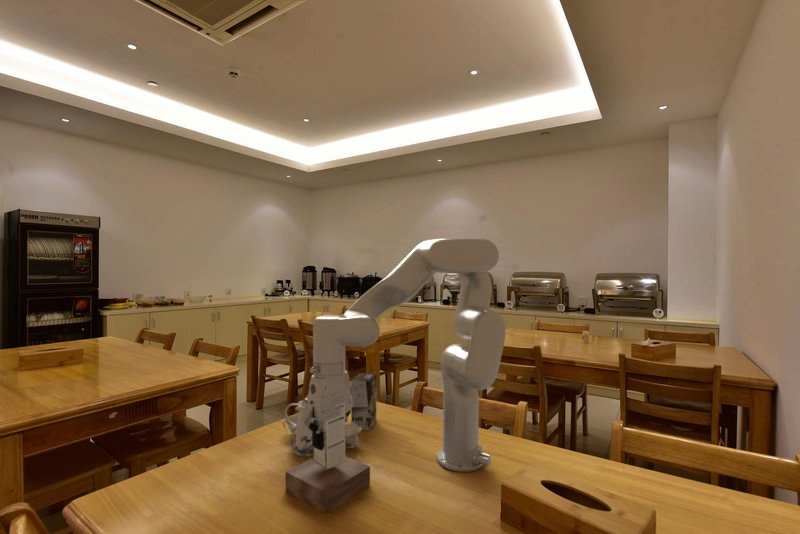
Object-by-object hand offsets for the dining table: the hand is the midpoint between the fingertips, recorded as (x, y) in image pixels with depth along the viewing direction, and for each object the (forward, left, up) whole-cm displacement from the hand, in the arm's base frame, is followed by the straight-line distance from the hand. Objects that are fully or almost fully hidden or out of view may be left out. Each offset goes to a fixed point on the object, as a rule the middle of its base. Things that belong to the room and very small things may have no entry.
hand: (329, 442), depth 95 cm
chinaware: (+20, -12, -11) cm, 26 cm away
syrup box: (0, 0, -5) cm, 5 cm away
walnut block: (0, 0, -11) cm, 11 cm away
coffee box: (+20, -32, -11) cm, 39 cm away
